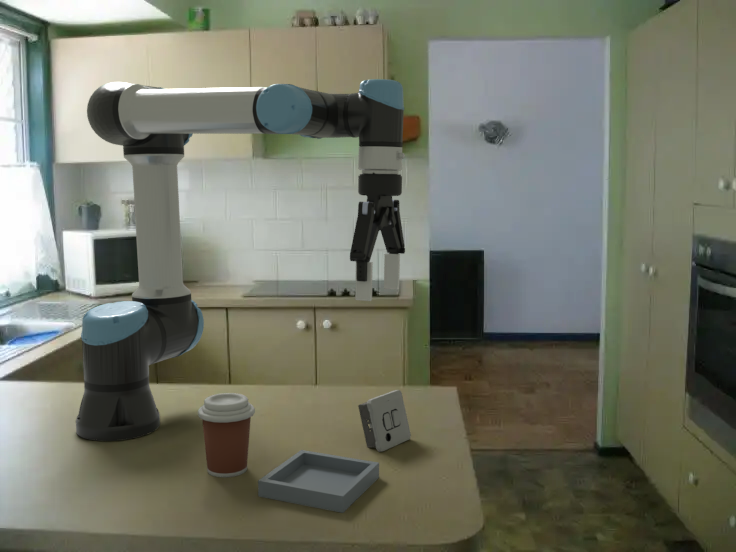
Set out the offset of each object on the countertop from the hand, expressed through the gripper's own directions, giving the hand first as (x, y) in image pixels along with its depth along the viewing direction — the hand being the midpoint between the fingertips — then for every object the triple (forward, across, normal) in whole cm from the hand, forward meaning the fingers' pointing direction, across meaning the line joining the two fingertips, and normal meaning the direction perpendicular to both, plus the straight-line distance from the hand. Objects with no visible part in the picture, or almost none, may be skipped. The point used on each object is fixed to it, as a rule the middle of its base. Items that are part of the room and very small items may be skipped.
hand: (378, 294), depth 134 cm
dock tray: (+27, -21, +1) cm, 35 cm away
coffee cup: (+28, -21, +18) cm, 39 cm away
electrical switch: (+28, +1, -1) cm, 28 cm away
